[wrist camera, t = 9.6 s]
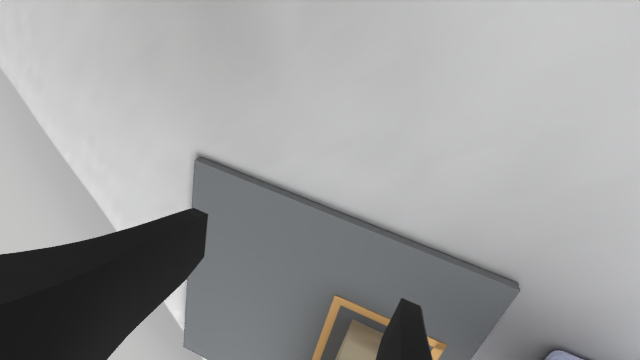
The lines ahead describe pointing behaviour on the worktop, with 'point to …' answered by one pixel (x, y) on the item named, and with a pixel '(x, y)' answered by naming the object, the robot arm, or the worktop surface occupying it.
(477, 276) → the rubber mat
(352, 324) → the cream block
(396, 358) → the robot arm
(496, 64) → the worktop surface
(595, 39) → the worktop surface
